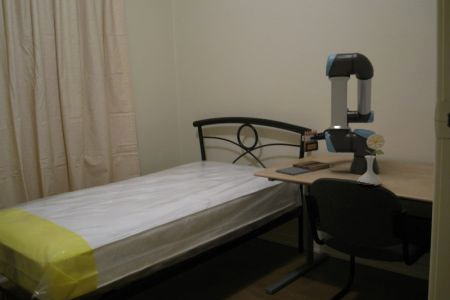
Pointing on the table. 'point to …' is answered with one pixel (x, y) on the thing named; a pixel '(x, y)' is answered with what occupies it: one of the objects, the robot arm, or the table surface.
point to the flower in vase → (375, 143)
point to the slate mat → (292, 171)
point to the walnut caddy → (312, 165)
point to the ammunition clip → (310, 142)
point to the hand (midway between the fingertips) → (304, 138)
